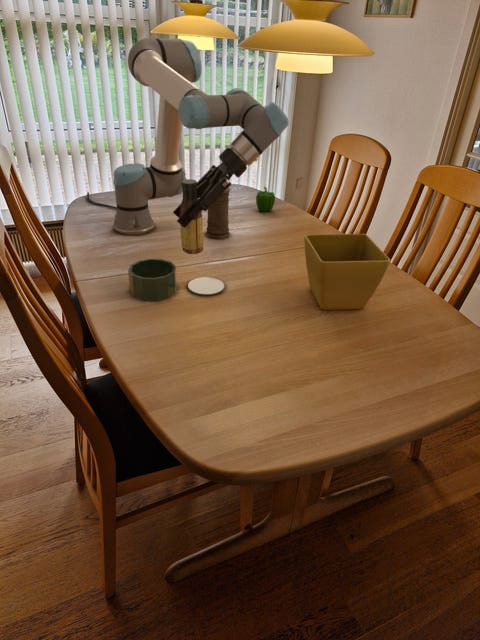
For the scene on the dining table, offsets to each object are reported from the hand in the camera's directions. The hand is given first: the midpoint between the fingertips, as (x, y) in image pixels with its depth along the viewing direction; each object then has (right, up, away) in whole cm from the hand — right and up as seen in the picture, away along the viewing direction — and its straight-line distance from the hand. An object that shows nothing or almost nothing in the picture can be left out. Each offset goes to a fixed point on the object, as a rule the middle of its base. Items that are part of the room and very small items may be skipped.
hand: (178, 219), depth 120 cm
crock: (-9, -18, +10) cm, 23 cm away
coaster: (+7, -17, +13) cm, 23 cm away
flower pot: (+45, -21, +11) cm, 51 cm away
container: (+8, +5, +49) cm, 50 cm away
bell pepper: (+28, +21, +76) cm, 84 cm away
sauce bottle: (+3, -8, +6) cm, 10 cm away
